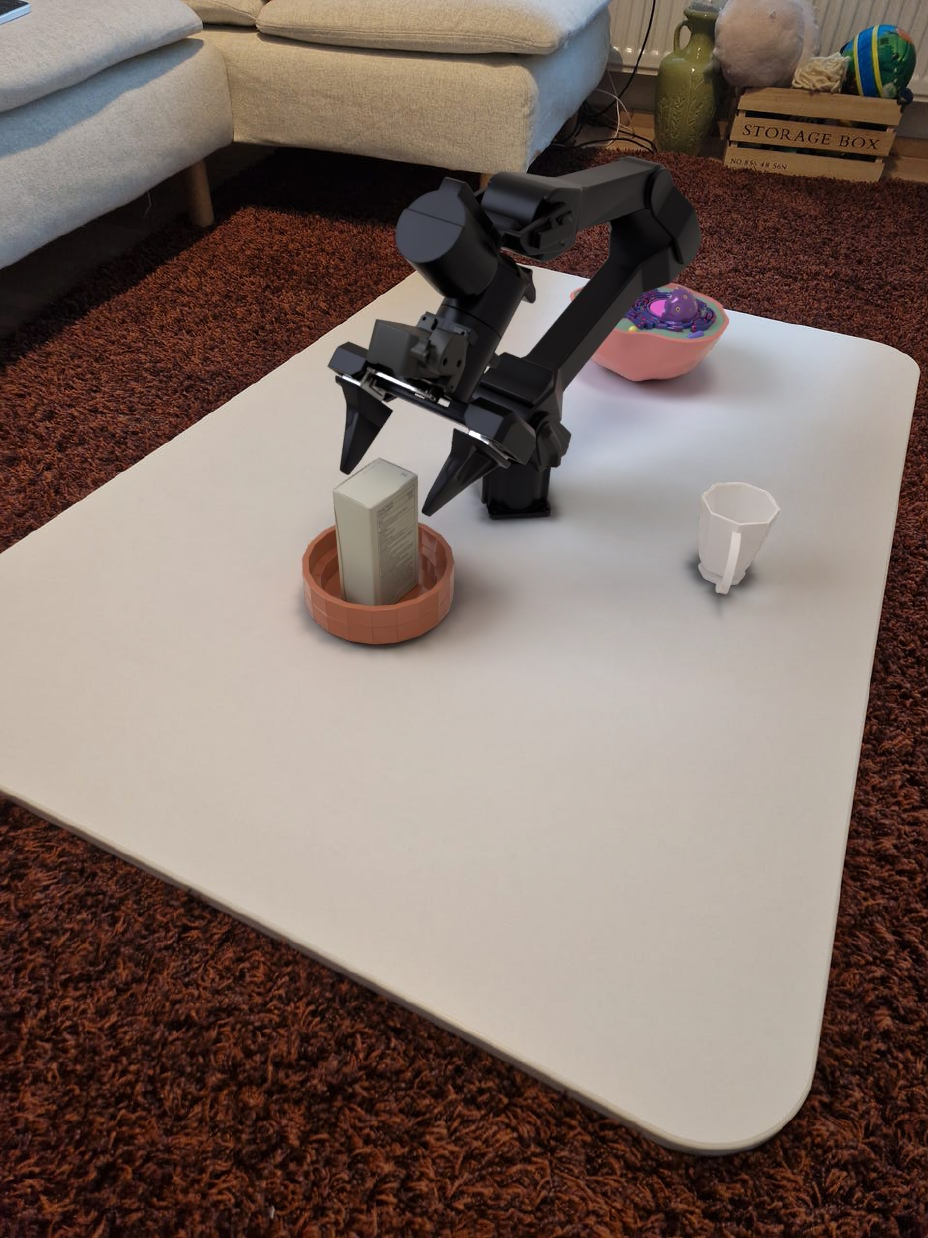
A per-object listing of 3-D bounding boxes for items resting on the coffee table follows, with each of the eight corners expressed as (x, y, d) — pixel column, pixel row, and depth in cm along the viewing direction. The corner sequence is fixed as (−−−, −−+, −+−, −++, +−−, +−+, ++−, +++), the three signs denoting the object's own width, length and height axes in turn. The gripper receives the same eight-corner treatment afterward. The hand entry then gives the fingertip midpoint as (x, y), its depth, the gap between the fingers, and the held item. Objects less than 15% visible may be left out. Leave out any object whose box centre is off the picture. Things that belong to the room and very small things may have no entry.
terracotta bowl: (443, 549, 89) (443, 511, 86) (461, 643, 79) (463, 604, 76) (305, 558, 87) (301, 519, 84) (307, 654, 78) (302, 615, 75)
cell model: (602, 324, 127) (613, 241, 119) (737, 367, 118) (758, 281, 111) (537, 370, 117) (544, 282, 109) (679, 420, 108) (698, 329, 101)
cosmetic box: (384, 565, 86) (379, 454, 78) (421, 584, 84) (420, 472, 76) (338, 600, 82) (329, 487, 74) (376, 621, 80) (371, 507, 72)
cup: (759, 556, 89) (781, 487, 84) (756, 622, 82) (780, 552, 77) (687, 543, 91) (703, 474, 85) (678, 607, 83) (695, 537, 78)
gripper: (335, 244, 72) (246, 421, 73) (525, 312, 64) (422, 511, 65) (403, 308, 82) (324, 464, 83) (576, 375, 74) (486, 547, 75)
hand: (383, 493), depth 76 cm, fingers open, 9 cm apart
